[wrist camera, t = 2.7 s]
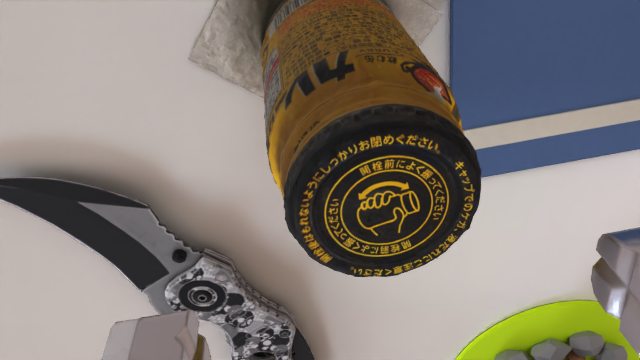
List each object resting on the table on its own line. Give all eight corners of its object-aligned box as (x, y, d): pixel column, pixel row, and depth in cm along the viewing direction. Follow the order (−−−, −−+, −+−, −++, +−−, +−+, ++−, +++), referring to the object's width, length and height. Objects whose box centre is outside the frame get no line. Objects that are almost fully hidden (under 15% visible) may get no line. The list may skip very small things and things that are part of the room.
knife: (-45, 193, 24) (148, 115, 22) (-28, 173, 25) (155, 98, 23) (239, 467, 40) (363, 433, 38) (240, 446, 41) (361, 413, 39)
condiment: (347, 140, 26) (408, 331, 16) (188, 57, 23) (141, 232, 13) (440, 12, 23) (585, 151, 13) (271, -104, 20) (293, -37, 10)
